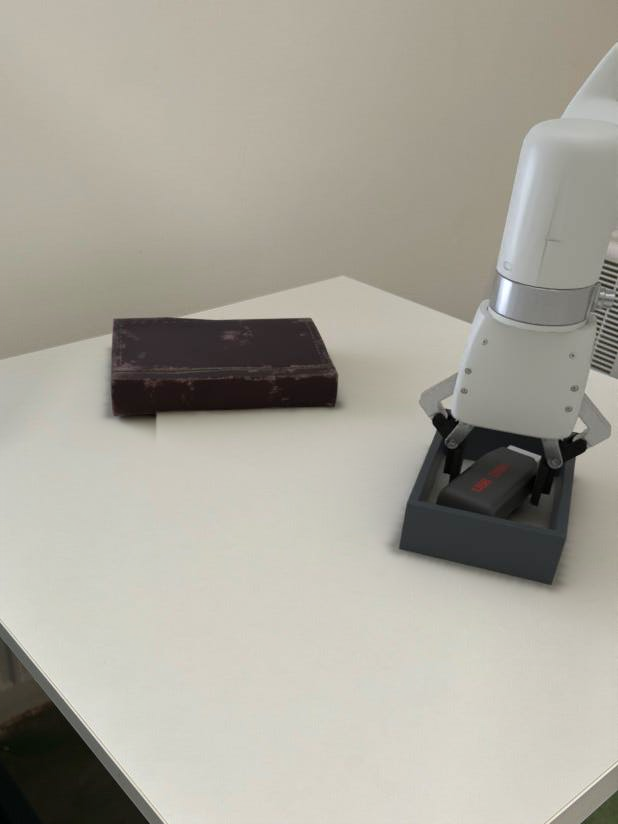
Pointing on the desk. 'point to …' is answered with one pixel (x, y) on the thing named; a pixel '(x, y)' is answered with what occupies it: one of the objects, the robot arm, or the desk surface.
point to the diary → (218, 365)
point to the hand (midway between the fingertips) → (494, 488)
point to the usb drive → (493, 483)
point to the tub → (487, 517)
